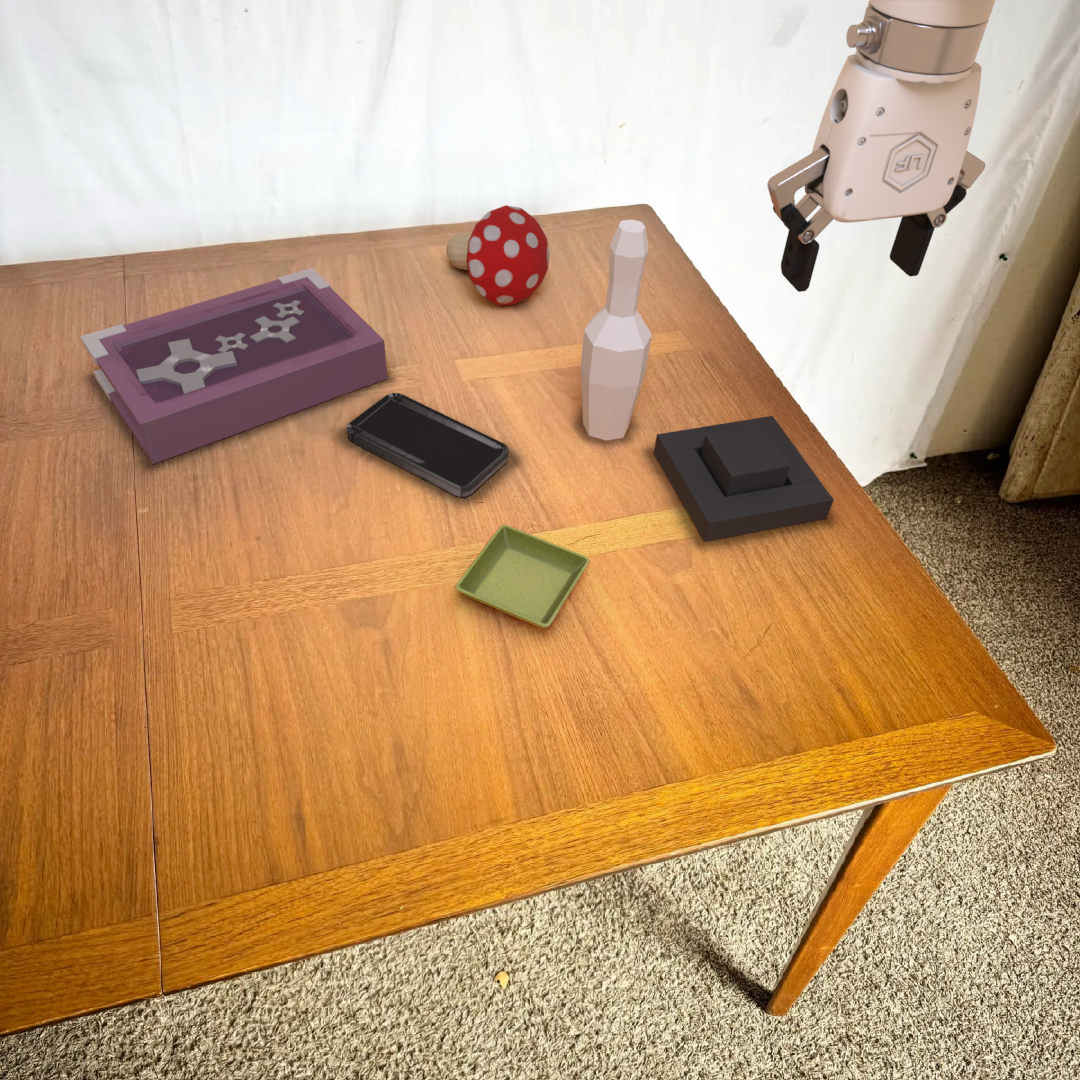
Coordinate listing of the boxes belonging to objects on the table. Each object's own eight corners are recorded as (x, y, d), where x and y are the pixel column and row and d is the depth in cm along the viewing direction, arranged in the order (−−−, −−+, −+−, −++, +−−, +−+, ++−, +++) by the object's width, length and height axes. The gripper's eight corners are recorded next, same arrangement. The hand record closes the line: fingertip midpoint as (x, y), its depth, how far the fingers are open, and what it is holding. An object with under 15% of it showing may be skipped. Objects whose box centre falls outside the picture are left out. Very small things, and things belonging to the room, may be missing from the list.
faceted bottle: (635, 408, 100) (666, 210, 84) (637, 447, 96) (671, 247, 80) (574, 404, 100) (594, 205, 84) (574, 444, 96) (595, 242, 80)
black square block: (779, 501, 92) (791, 465, 88) (722, 511, 90) (731, 476, 87) (752, 460, 96) (762, 425, 92) (697, 469, 94) (705, 434, 91)
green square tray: (590, 574, 84) (592, 557, 82) (546, 643, 78) (548, 627, 77) (501, 538, 86) (502, 522, 85) (453, 604, 81) (453, 587, 79)
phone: (393, 389, 98) (513, 447, 93) (393, 398, 99) (513, 456, 94) (340, 429, 94) (464, 492, 88) (342, 438, 94) (464, 501, 89)
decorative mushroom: (429, 188, 113) (507, 192, 103) (499, 219, 121) (579, 225, 110) (406, 282, 115) (480, 295, 104) (477, 306, 122) (553, 321, 112)
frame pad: (826, 518, 90) (834, 499, 88) (704, 542, 87) (709, 522, 85) (767, 434, 98) (772, 415, 97) (653, 453, 95) (656, 434, 94)
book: (317, 306, 110) (312, 267, 107) (388, 378, 102) (385, 338, 98) (94, 377, 99) (79, 336, 96) (151, 465, 90) (138, 423, 87)
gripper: (831, 69, 58) (771, 314, 70) (1066, 51, 62) (971, 286, 75) (774, 28, 63) (727, 264, 75) (995, 14, 67) (917, 240, 80)
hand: (849, 275), depth 75 cm, fingers open, 9 cm apart
